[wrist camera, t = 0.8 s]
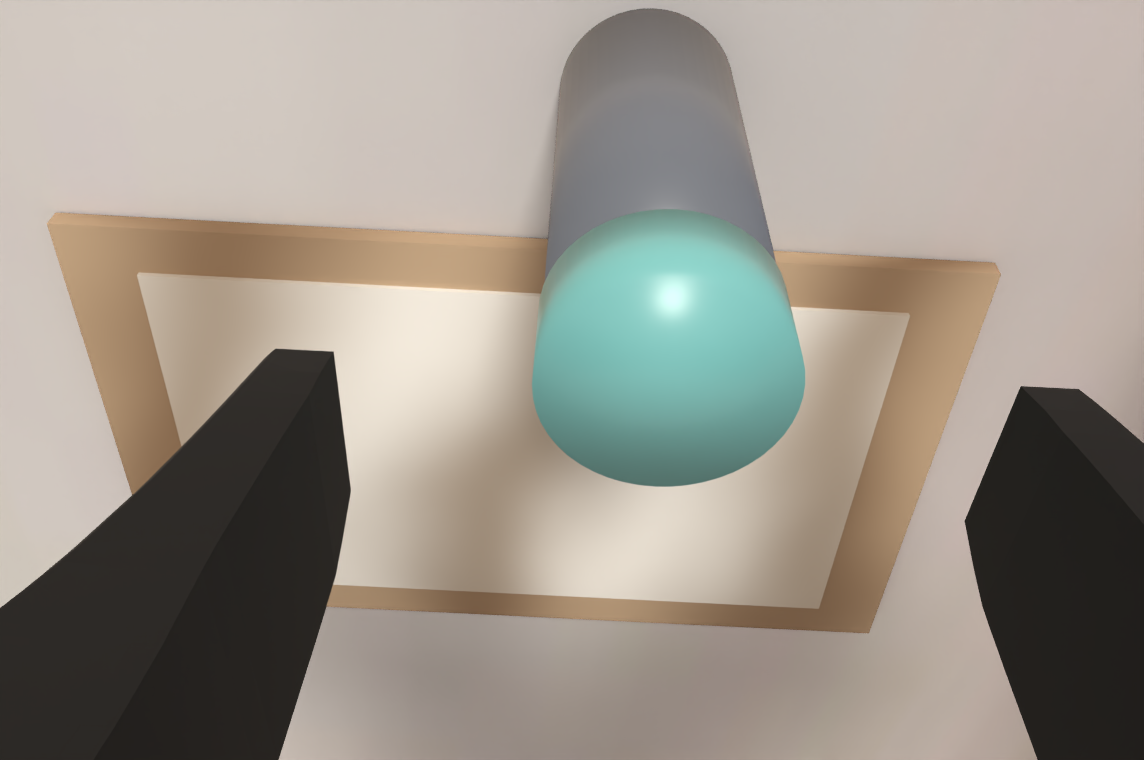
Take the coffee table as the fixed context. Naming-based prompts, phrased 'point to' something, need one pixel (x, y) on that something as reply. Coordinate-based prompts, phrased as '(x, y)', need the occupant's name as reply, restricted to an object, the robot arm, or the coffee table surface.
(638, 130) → the marker
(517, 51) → the coffee table surface
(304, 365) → the robot arm
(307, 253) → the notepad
